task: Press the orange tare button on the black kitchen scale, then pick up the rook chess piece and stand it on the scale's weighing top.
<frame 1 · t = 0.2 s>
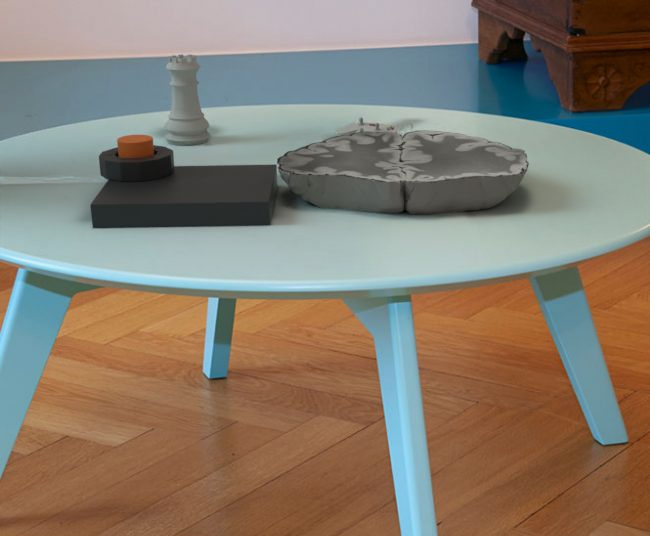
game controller: (385, 144, 107), on the table
scale: (190, 207, 88), on the table
rook chess piece: (188, 142, 109), on the table
tare button: (135, 147, 90), point 4 cm above the table, slide at 0.1 cm
brain slice: (401, 192, 91), on the table
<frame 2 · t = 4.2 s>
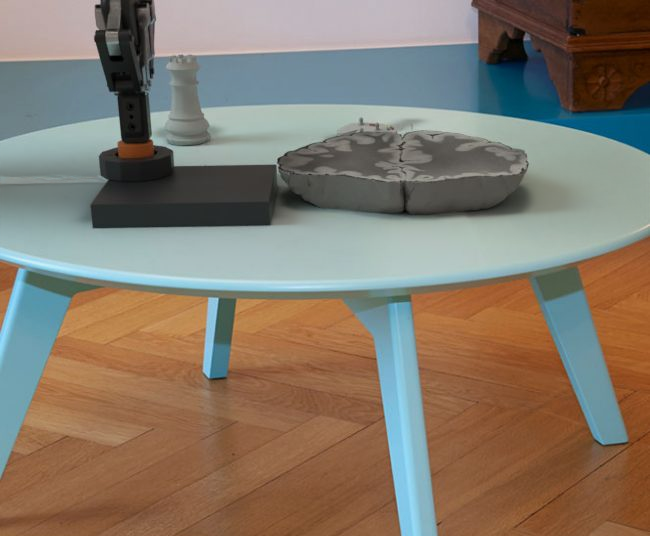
hand: (137, 141, 90), 4 cm above the table, tool pointing down, fingers closed
tare button: (136, 151, 90), point 4 cm above the table, slide at -0.1 cm, touching gripper
everything else where it was.
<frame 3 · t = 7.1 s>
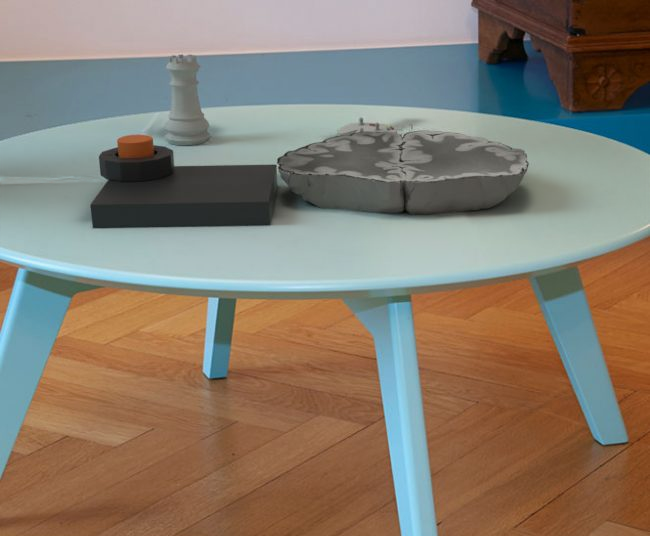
tare button: (135, 148, 90), point 4 cm above the table, slide at 0.1 cm
everything else where it was.
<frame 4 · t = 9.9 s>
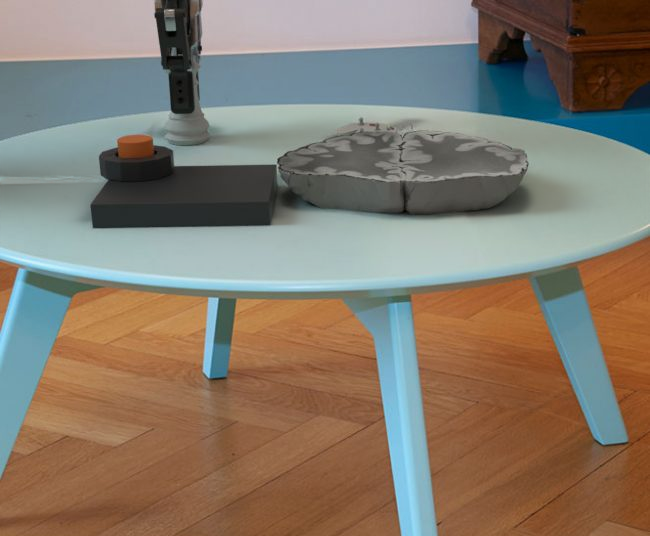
hand: (185, 108, 108), 3 cm above the table, tool pointing down, fingers closed on rook chess piece, 3 cm apart
rook chess piece: (188, 142, 109), on the table, touching gripper
everything else where it was.
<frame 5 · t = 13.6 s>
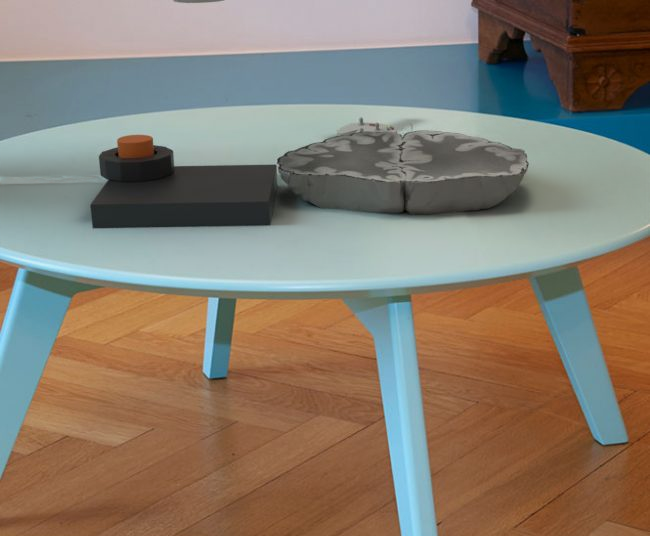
rook chess piece: (199, 2, 82), point 15 cm above the table, touching gripper
everything else where it was.
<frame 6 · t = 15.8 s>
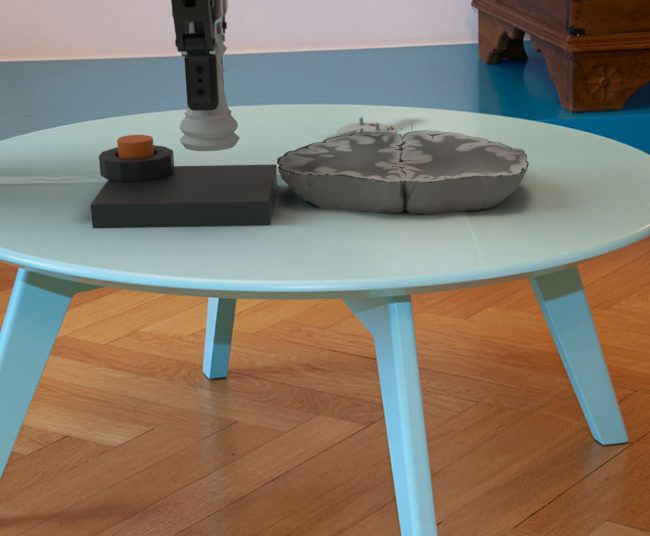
hand: (206, 102, 83), 8 cm above the table, tool pointing down, fingers closed on rook chess piece, 3 cm apart
rook chess piece: (210, 148, 84), point 5 cm above the table, touching gripper
everything else where it was.
when the fingers open (5 cm above the table, at t = 17.2 s): rook chess piece stays where it is, resting on scale.
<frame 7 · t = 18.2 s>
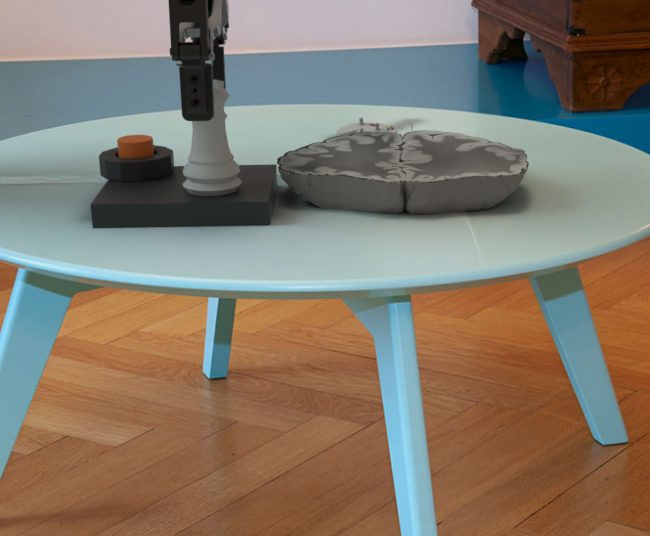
hand: (205, 107, 83), 8 cm above the table, tool pointing down, fingers open, 8 cm apart
rook chess piece: (212, 192, 85), point 2 cm above the table, touching scale
everything else where it was.
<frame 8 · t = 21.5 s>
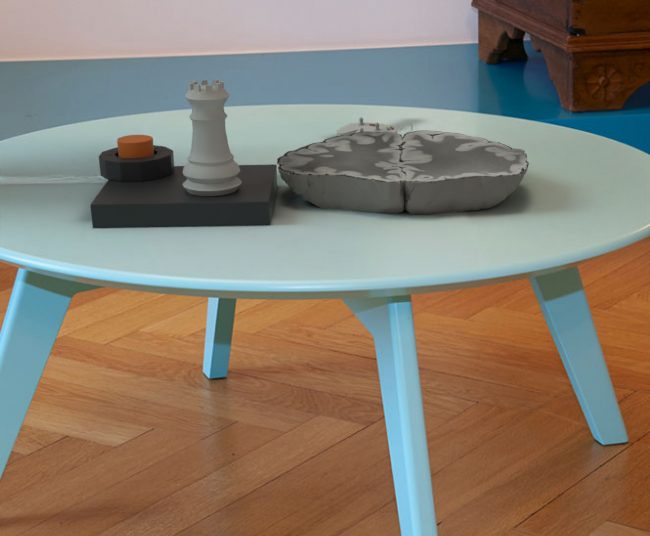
nothing on the table moved.
at the end: tare button pushed in 1.0 cm at the most during the clip, back to where it started at the end; rook chess piece inside the target area on the scale (2.5 cm from its centre), point 1.7 cm above the scale's base; rook chess piece touching scale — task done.
